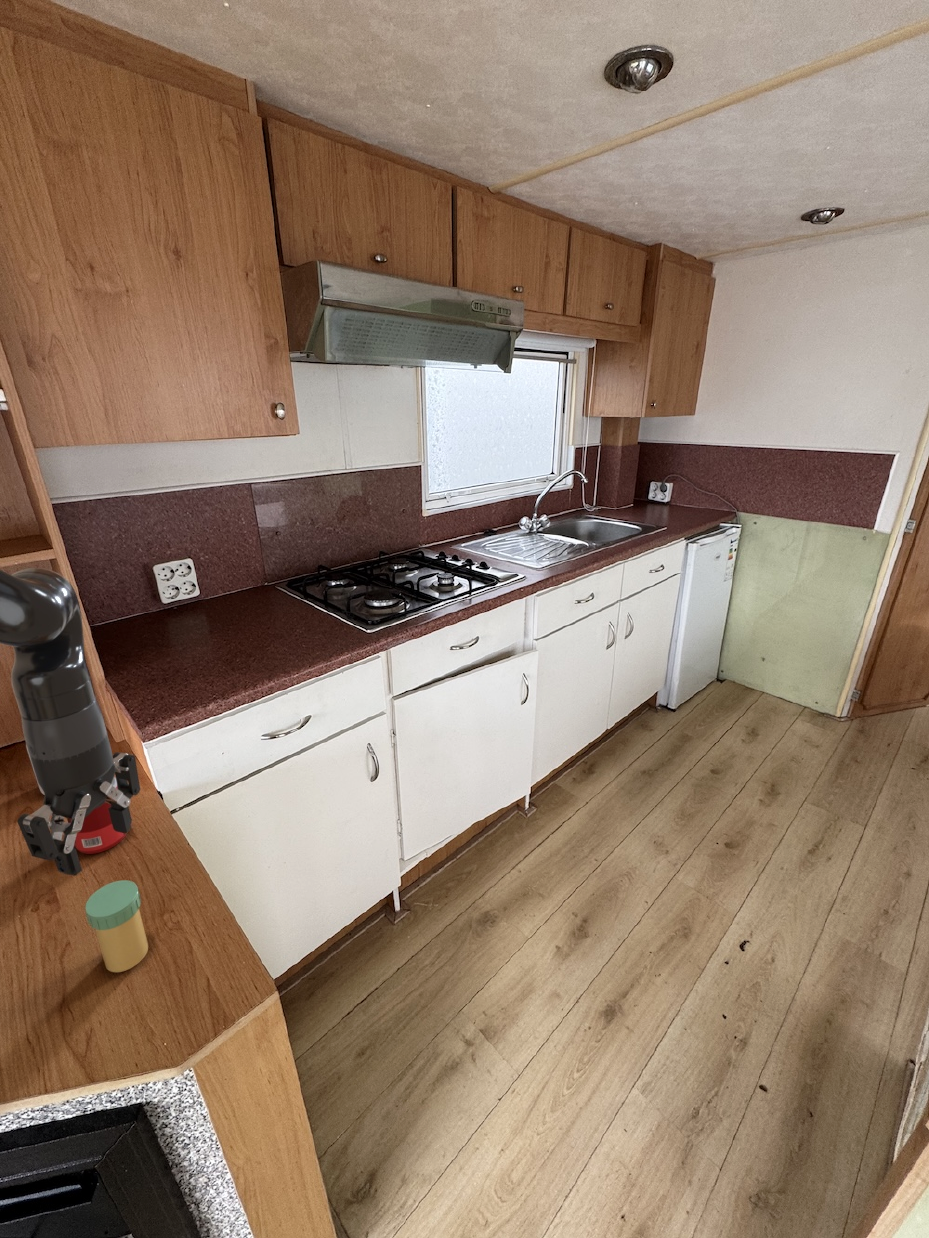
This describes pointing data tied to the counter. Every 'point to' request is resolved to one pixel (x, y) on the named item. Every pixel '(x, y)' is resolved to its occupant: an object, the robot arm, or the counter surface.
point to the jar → (123, 944)
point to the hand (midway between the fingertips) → (99, 850)
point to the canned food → (98, 830)
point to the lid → (113, 905)
